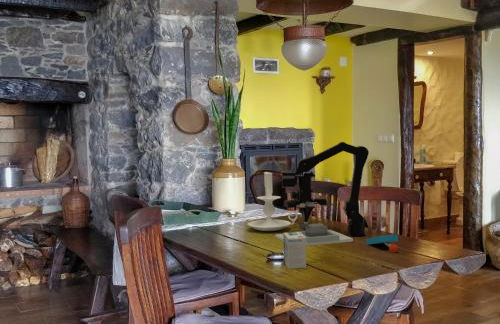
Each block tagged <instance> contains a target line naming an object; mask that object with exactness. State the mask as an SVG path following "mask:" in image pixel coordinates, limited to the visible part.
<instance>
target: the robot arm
mask: <svg viewBox="0 0 500 324" xmlns="http://www.w3.org/2000/svg"><path fill="white" fill-rule="evenodd" d="M342 152H345V153H348V154H351V155H352V156H353V158H352V159H353V172H352V177H351V183H350V189H349V196H348V199H347V200H346V199H344V203H343V207H342V210H343V212H344V214H345V216H346V217H347V218H349V220H348V223H347V233H346V235H348V236H349V237H352V238H353V237H364V236H365V237H366V236H367V234H366V233H365V217H364V216H363V215H362V214H361V213H360V203H359V202H360V201H359V199H360V197H359V196H360V190H361V185H362V178H363V177H362V176H363V171H364V167H365V164H366V163H367V161H368V160H367V159H368V157H369V150H368V148H367V147H365V146H362V145H357V146H356V145H352V144H348V143H346V141H345V142H344V141H340V142H338V143H337V144H335V145H333V146H331V147H329V148H327V149H325V150H323V151H321V152H319V153H317V154H315V155H310V156H307V157H304V158H301V159H300V160H299V161H298V162H297V167H296V169H294V171H293V172H289V171H288V172H287V171H286V172H285V171H283V172H282V173H281V188H282V189H283V188H295V186H298V188H297V190H296V191H297V192H296V191H291V192H290V193H289V194H290V199H285V200H284V201H283V207H285V208H286V209H292V208H293V209H294V208H297V209H298V211H300V213H301V215H302V218H303V222H309V218H310V217H311V214H312V211H314V209H316V206H315V205H320V206H328V200H327V199H326V198H324V197H315V198H313V195H312V194H313V191H314V190H313V187H312V178H316V176H317V175H316V174H314V172H313V171H312V169H314V168H315V167H316V166H318V164H319V165H320V163H322V162H324V161H326V160H328V159H330V158H332V157H334V156H336V155H338V154H340V153H342ZM309 171H310V172H309Z"/></svg>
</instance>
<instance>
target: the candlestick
mask: <svg viewBox="0 0 500 324" xmlns="http://www.w3.org/2000/svg"><path fill="white" fill-rule="evenodd" d="M263 175H264V176H263V179H264V181H263V182H264V191H265V195H262V196H260V195H259V196H257V197H256V199H258V200H261V201H264V202H265V203H264V205H263V208H262V212H263V215H265V216H266V219H261V220H259V219H257V220H253V221H250V222H248V223H247V225H248V226H249V227H251V228H252V229H255V230H256V231H257V230H258V231H261V232H275V231H281V230H283V229H286V228H287V227H288V226H293V225H294V224H295V221H296V220H297V219H298V217H299V215H298V212H299V209H298V210H297V209H296V210H291V211H289V213H288V215H287V216H288V219H289V220H290V221H291V222H290V221H289V220H284V219H273V218H272V216H273V215H274V214H275V211H276V208H275V205H274V204H273V202H274V201H275V200H278V199H281V198H282V197H281V196H278V195H273V193H274V192H273V190H274V189H273V172H270V171H269V172H268V171H264V172H263ZM293 213H294V214H295V217H294V218H291V214H293Z"/></svg>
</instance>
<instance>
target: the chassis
mask: <svg viewBox="0 0 500 324" xmlns="http://www.w3.org/2000/svg"><path fill="white" fill-rule="evenodd" d="M299 232H301V233H302V234H303V235H304V236H305V229H302V231H299ZM305 237H306V247H308V246H319V245H330V244H332V245H333V244H339V243H350V242H351V243H352V242H354V238H353V237H351V236H349V235H348V236H347V235H344V234H342V233H340V232H337V231H335V230H332V229H328V236H319V237H307V236H305ZM274 238H276V239H277V240H278V241H281V242H283V233H277V234H274Z"/></svg>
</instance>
